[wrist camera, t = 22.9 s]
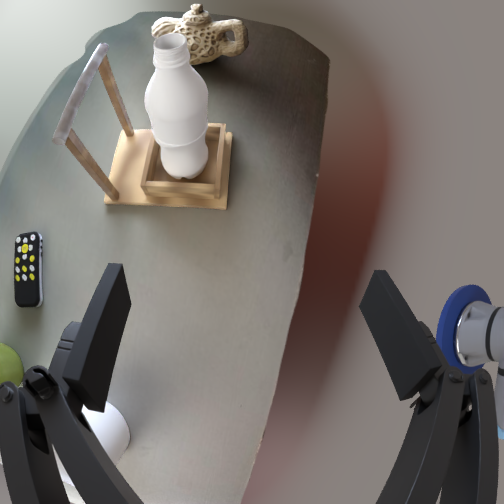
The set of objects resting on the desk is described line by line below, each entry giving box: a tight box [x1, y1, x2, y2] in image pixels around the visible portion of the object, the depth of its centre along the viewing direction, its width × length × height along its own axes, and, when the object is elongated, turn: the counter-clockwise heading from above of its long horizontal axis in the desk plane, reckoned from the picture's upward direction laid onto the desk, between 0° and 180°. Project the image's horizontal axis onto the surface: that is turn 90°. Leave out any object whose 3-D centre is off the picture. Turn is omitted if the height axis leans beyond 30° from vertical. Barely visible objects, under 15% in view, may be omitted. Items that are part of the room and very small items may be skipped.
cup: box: [52, 401, 130, 486], centre depth 28 cm, size 12×12×12 cm
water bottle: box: [145, 33, 208, 179], centre depth 31 cm, size 7×7×25 cm
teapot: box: [151, 4, 249, 65], centre depth 42 cm, size 21×12×15 cm, turn 70°
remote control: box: [14, 232, 43, 307], centre depth 36 cm, size 6×13×2 cm, turn 7°
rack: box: [52, 43, 232, 210], centre depth 33 cm, size 20×15×21 cm
